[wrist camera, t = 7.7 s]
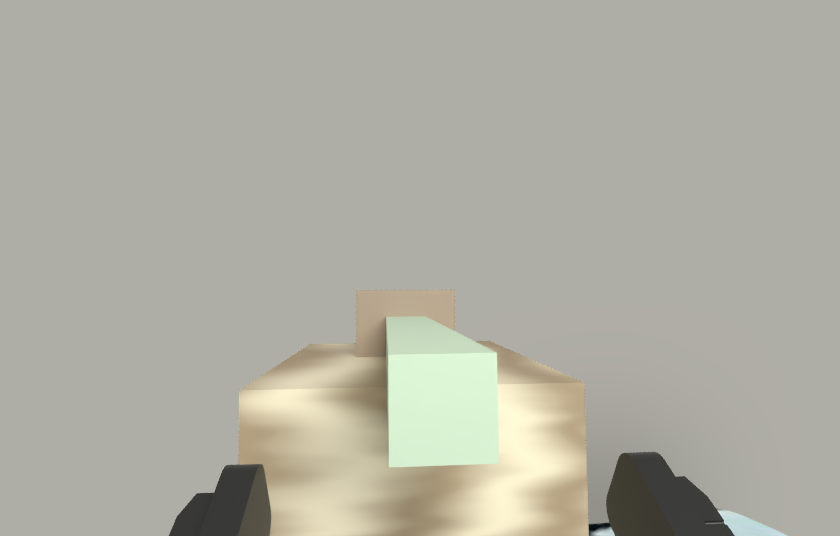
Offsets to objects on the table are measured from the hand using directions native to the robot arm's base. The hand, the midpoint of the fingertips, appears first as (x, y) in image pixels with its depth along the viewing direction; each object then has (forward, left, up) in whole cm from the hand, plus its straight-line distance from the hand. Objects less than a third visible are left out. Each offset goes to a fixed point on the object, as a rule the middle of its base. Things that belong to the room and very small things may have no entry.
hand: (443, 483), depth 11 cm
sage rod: (0, -12, +1) cm, 11 cm away
